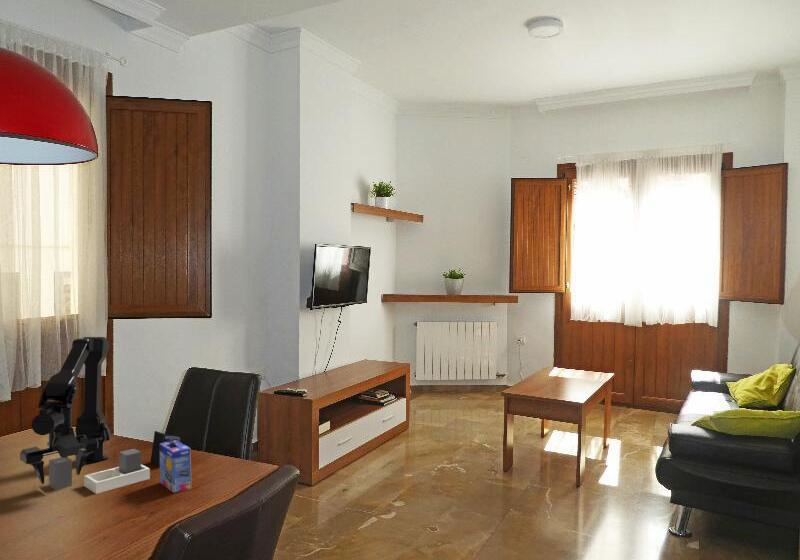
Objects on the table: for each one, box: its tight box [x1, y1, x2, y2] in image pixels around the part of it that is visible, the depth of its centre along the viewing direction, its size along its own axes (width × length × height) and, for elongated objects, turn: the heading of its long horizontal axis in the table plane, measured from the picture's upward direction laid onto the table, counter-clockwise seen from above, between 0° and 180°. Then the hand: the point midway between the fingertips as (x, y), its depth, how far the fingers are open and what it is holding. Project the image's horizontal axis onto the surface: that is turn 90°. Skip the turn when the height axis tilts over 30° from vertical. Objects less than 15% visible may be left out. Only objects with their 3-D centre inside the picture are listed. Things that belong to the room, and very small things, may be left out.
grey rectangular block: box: [48, 456, 73, 491], centre depth 167 cm, size 4×4×8 cm
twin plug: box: [118, 448, 142, 474], centre depth 173 cm, size 4×4×8 cm
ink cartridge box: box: [159, 437, 192, 493], centre depth 169 cm, size 10×6×14 cm, turn 45°
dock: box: [83, 463, 151, 495], centre depth 170 cm, size 8×15×4 cm, turn 140°
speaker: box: [150, 430, 181, 467], centre depth 187 cm, size 8×6×10 cm
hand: (60, 479), depth 167 cm, fingers open, 9 cm apart
